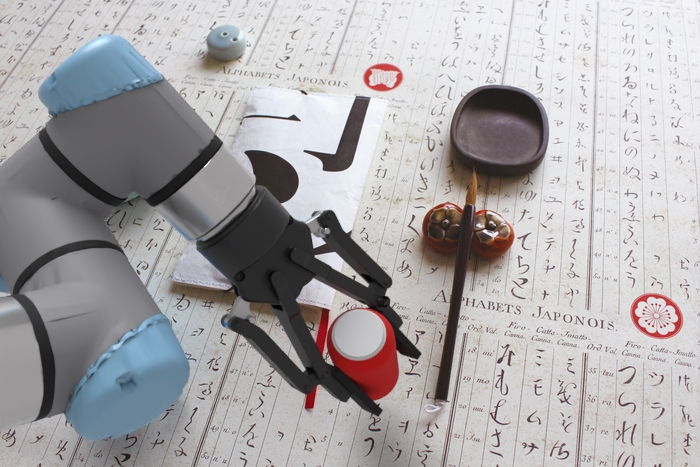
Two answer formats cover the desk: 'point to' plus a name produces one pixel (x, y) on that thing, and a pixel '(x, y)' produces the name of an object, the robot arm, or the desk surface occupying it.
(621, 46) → the desk surface
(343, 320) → the beverage can
